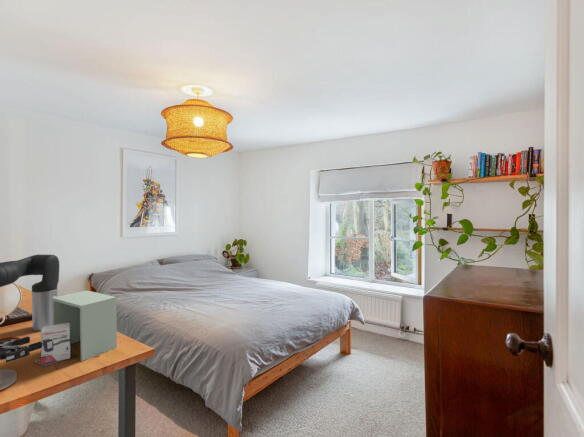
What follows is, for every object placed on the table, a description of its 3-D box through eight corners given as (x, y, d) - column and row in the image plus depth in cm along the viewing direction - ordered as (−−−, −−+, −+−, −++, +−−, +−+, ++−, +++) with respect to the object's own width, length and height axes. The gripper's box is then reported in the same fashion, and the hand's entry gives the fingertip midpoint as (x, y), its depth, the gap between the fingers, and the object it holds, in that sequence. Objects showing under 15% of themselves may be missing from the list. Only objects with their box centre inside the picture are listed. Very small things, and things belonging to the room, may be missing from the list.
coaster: (35, 362, 115) (35, 360, 115) (57, 354, 121) (57, 353, 121) (45, 366, 112) (45, 365, 112) (67, 358, 118) (67, 357, 118)
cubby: (53, 348, 126) (52, 297, 125) (87, 337, 137) (86, 290, 136) (82, 361, 116) (81, 305, 115) (116, 347, 127) (116, 297, 127)
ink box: (40, 364, 112) (40, 331, 112) (42, 359, 117) (41, 326, 116) (70, 358, 117) (70, 326, 117) (70, 353, 121) (70, 322, 121)
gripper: (-18, 354, 94) (46, 335, 108) (-38, 344, 101) (25, 327, 115) (-18, 379, 94) (46, 357, 109) (-37, 367, 101) (25, 348, 115)
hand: (35, 341), depth 112 cm, fingers open, 8 cm apart
